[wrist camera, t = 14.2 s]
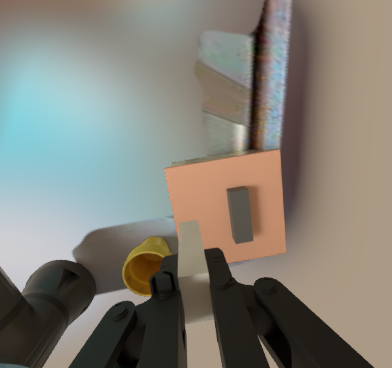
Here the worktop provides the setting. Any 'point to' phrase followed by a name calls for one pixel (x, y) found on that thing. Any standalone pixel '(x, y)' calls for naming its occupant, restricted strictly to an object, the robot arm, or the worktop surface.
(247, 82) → the worktop surface
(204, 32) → the worktop surface
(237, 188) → the lid
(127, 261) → the plant pot
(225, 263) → the robot arm
